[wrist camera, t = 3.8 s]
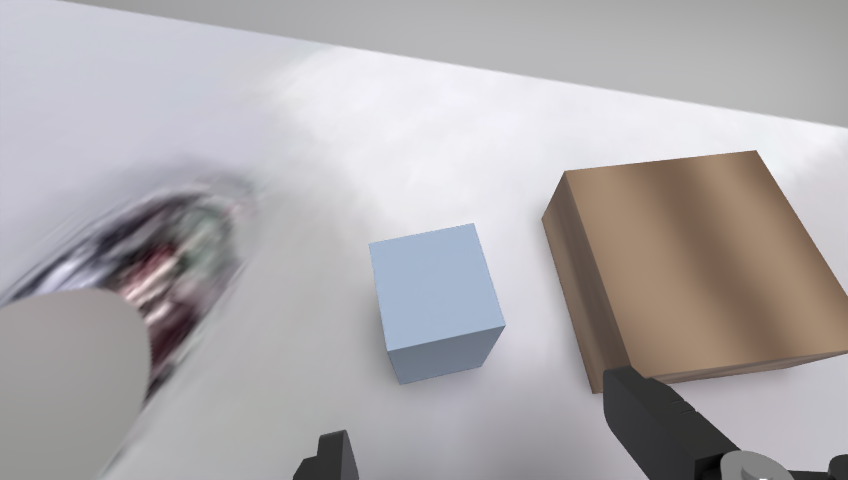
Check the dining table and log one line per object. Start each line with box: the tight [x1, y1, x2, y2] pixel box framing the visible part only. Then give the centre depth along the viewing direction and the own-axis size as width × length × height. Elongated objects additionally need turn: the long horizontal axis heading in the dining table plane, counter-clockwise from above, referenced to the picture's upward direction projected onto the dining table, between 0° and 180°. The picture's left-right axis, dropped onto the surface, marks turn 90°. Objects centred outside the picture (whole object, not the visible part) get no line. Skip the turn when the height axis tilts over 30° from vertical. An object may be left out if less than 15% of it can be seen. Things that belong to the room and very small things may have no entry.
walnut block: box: [542, 150, 848, 394], centre depth 25 cm, size 12×12×6 cm
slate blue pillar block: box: [369, 223, 506, 385], centre depth 22 cm, size 5×5×9 cm
